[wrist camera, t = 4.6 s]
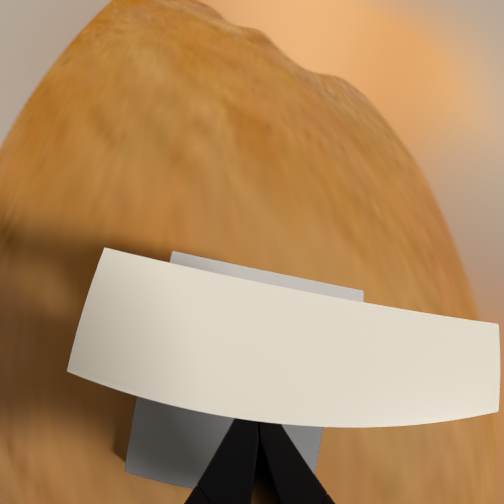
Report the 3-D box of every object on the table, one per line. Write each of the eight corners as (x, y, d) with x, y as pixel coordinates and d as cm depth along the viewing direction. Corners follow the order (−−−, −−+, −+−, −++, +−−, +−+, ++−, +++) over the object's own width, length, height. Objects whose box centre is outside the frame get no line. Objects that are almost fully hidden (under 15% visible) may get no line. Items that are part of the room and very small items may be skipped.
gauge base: (302, 491, 12) (353, 534, 6) (129, 465, 11) (89, 504, 6) (326, 329, 16) (385, 294, 11) (164, 297, 16) (145, 244, 10)
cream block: (326, 409, 13) (532, 402, 3) (141, 378, 12) (-16, 330, 2) (329, 380, 13) (531, 328, 4) (148, 347, 13) (21, 225, 3)
